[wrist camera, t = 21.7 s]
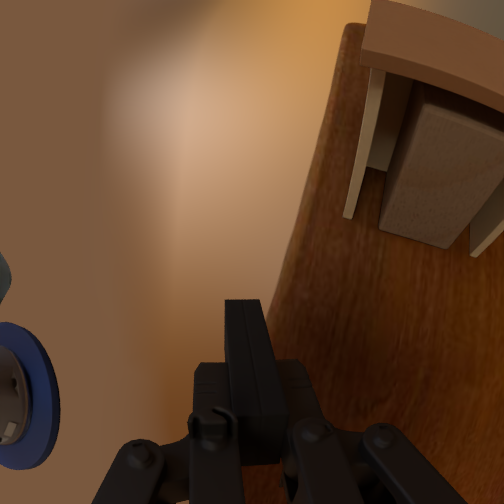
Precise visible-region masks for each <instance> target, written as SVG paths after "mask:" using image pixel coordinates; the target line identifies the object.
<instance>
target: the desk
mask: <svg viewBox="0 0 504 504" xmlns="http://www.w3.org/2000/svg"><path fill="white" fill-rule="evenodd" d="M360 65H361V66H365V67H369V68H371V72H370V79H369V85H368V92H367V98H366V104H365V110H364V116H363V122H362V127H361V133H360V138H359V143H358V149H357V154H356V159H355V164H354V168H353V173H352V178H351V183H350V187H349V192H348V196H347V201H346V205H345V209H344V214H343V217H344V218H347V219H352V217H353V213H354V210H355V206H356V203H357V199H358V195H359V192H360V188H361V184H362V180H363V176H364V172H365V168H366V166H368V167H372V168H375V169H379V170H382V171H386V172H387V170H388V166H389V163H390V160H391V157H392V154H393V151H394V148H395V144H396V141H397V138H398V135H399V131H400V128H401V124H402V121H403V118H404V114H405V110H406V107H407V103H408V99H409V96H410V92H411V88H412V84H413V80H414V79H415V80H418V81H421V82H424V83H427V84H431V85H434V86H437V87H439V88H442V89H445V90H448V91H451V92H454V93H456V94H459V95H462V96H464V97H467V98H469V99H472V100H474V101H477V102H479V103H481V104H484V105H486V106H488V107H491V108H493V109H495V110H497V111H500V112H502V113H504V41H503V40H501V39H498V38H496V37H494V36H492V35H490V34H488V33H485V32H483V31H481V30H478V29H476V28H474V27H471V26H468V25H466V24H463V23H461V22H458V21H456V20H453V19H450V18H447V17H444V16H441V15H438V14H435V13H432V12H429V11H426V10H422V9H419V8H416V7H412V6H408V5H405V4H401V3H397V2H392V1H388V0H371V5H370V11H369V15H368V20H367V25H366V29H365V34H364V39H363V43H362V48H361V56H360ZM503 231H504V178H503V179H502V180H501V182H500V183H499V185H498V186H497V187H496V189H495V190H494V191H493V193H492V194H491V195H490V197H489V198H488V199H487V201H486V202H485V203H484V205H483V206H482V207H481V209H480V210H479V211H478V212H477V214H476V215H475V216H474V217H473V219H472V220H471V221H470V251H469V255H470V256H473V257H477V256H478V255H479V254H480V253H482V252H483V251H484V250H485V249H486V248H487V247H488V246H489V245H490V244H491V243H492V242H493V241H494V240H495V239H496V238H497V237H498V236H499V235H500V234H501V233H502V232H503Z"/></svg>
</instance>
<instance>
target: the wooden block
mask: <svg viewBox="0 0 504 504" xmlns="http://www.w3.org/2000/svg"><path fill="white" fill-rule="evenodd" d="M503 178H504V113H502V112H500V111H497V110H495V109H493V108H491V107H488V106H486V105H484V104H481V103H479V102H477V101H474V100H472V99H469V98H467V97H464V96H462V95H459V94H456V93H454V92H451V91H448V90H445V89H442V88H439V87H437V86H434V85H431V84H427V83H424V82H421V81H418V80H415V79H414V80H413V84H412V88H411V92H410V96H409V99H408V103H407V107H406V110H405V114H404V118H403V121H402V124H401V128H400V131H399V135H398V138H397V141H396V144H395V148H394V151H393V154H392V157H391V160H390V163H389V166H388V170H387V173H386V180H385V187H384V194H383V200H382V207H381V213H380V218H379V224H378V226H379V229H380V230H382V231H386V232H389V233H393V234H396V235H400V236H403V237H406V238H410V239H413V240H416V241H420V242H423V243H426V244H429V245H433V246H436V247H439V248H442V249H448V248H449V246H450V245H451V244H452V243H453V242H454V241H455V239H456V238H457V237H458V236H459V235H460V233H461V232H462V231H463V230H464V229H465V227H466V226H467V225H468V224H469V222H470V221H471V220H472V219H473V217H474V216H475V215H476V214H477V212H478V211H479V210H480V209H481V207H482V206H483V205H484V203H485V202H486V201H487V199H488V198H489V197H490V195H491V194H492V193H493V191H494V190H495V189H496V187H497V186H498V185H499V183H500V182H501V180H502V179H503Z"/></svg>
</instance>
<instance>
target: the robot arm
mask: <svg viewBox="0 0 504 504" xmlns="http://www.w3.org/2000/svg"><path fill="white" fill-rule="evenodd" d="M11 280H12V279H11V272H10V268H9V266H8V264H7V262H6V260H5V259H4V257H3V256H2V254H1V253H0V304H1V302H2V300H3V298H4V297H5V295H6V293H7V291H8V289H9V288H10V285H11ZM224 350H225V362H224V363H222V362H220V363H204V362H201V363H200V364H199V366H198V367H197V369H196V370H195V373H194V393H193V412H192V413H191V414H190V416H189V419H188V422H187V423H188V430H189V434H188V435H187V436H186V437H185V438H183V439H181V440H180V441H177V442H174V443H171V444H166V445H162V446H159V445H158V444H156V443H154V442H152V441H150V440H144V439H137V440H132V441H130V442H128V443H126V444H124V445H123V446H122V448H121V449H120V450H119V451H118V453H117V455H116V457H115V459H114V461H113V463H112V465H111V467H110V469H109V471H108V473H107V474H106V476H105V478H104V480H103V482H102V484H101V486H100V488H99V490H98V492H97V494H96V496H95V498H94V499H93V501H92V503H91V504H176V503H177V502H181V501H186V500H189V504H245V496H244V488H243V480H242V472H241V466H254V465H268V464H279V463H280V458H281V459H282V464H283V470H282V474H281V478H280V483H279V487H283V485H284V490H285V495H286V499H287V504H468V503H467V502H466V501H465V500H464V499H463V498H462V497H461V496H460V495H459V494H458V492H457V491H456V490H455V489H454V488H453V487H452V486H451V485H450V484H449V483H448V482H447V481H446V480H445V479H444V477H443V476H442V475H441V474H440V473H439V472H438V471H437V470H436V469H435V468H434V467H433V466H432V465H431V463H430V462H429V461H428V460H427V459H426V458H425V457H424V456H423V455H422V454H421V453H420V452H419V450H418V449H417V448H416V447H415V446H414V445H413V444H412V443H411V442H410V441H409V440H408V439H407V437H406V436H405V435H404V434H403V433H402V432H401V431H400V430H399V429H398V428H396V427H395V426H393V425H390V424H388V423H377V424H373V425H371V426H369V427H368V428H367V429H366V430H365V432H352V431H344V430H340V429H338V428H335V427H334V426H333V424H332V423H330V422H329V421H327V420H326V419H325V417H324V416H323V413H322V410H321V408H320V405H319V402H318V400H317V397H316V394H315V391H314V389H313V387H312V383H311V381H310V379H309V375H308V373H307V370H306V367H305V366H304V365H303V364H302V363H301V362H299V361H298V360H297V359H287V360H275V356H274V352H273V349H272V345H271V341H270V337H269V334H268V330H267V326H266V322H265V319H264V315H263V311H262V307H261V303H260V300H259V299H253V300H251V299H250V300H225V347H224ZM31 417H32V392H31V386H30V381H29V378H28V374H27V372H26V369H25V367H24V365H23V363H22V361H21V360H20V358H19V357H18V356H17V354H16V353H15V352H13V351H12V350H11V349H9V348H7V347H4V346H1V345H0V445H14V444H16V443H18V442H20V441H21V440H22V439H23V438H24V436H25V435H26V433H27V431H28V429H29V426H30V422H31Z"/></svg>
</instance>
